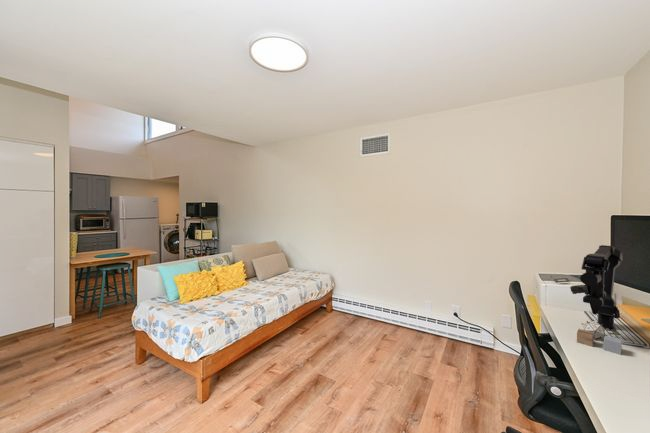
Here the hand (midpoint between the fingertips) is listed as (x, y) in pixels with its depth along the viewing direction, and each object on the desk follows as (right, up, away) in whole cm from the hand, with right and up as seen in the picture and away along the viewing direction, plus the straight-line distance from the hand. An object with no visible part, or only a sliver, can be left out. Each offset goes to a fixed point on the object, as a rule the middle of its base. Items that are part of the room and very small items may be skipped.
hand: (594, 314), depth 124 cm
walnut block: (-8, -12, -4) cm, 15 cm away
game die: (0, -12, +1) cm, 12 cm away
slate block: (-3, -12, -10) cm, 16 cm away
